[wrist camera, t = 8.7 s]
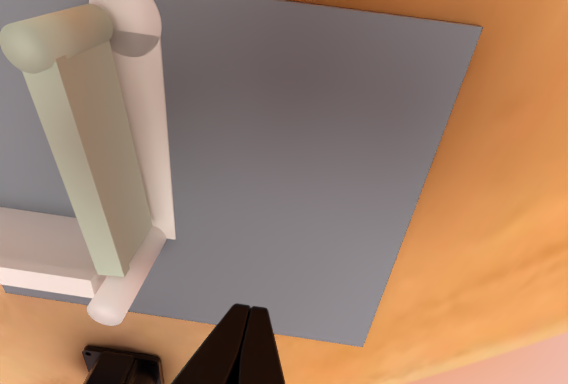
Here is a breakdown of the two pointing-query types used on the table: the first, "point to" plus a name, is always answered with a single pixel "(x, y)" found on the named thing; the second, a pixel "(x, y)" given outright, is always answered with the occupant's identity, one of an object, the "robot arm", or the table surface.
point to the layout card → (243, 160)
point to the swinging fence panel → (85, 126)
